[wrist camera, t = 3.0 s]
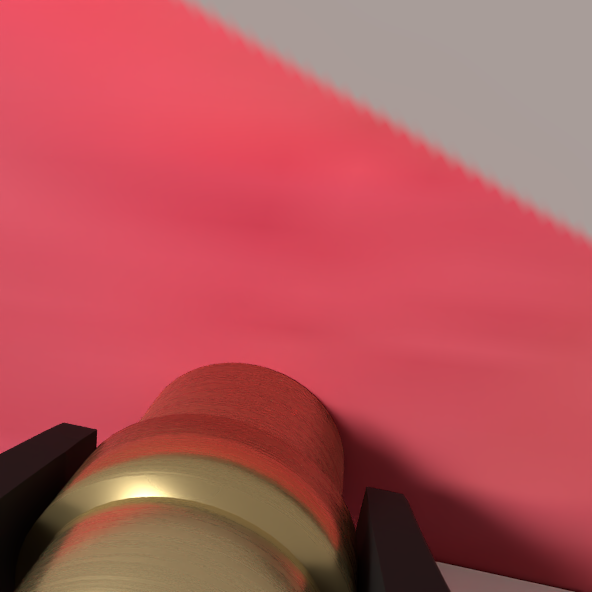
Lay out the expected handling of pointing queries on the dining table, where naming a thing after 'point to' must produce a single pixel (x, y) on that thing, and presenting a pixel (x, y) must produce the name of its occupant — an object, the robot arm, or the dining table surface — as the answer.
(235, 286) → the dining table surface
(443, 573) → the fitting
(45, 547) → the cylinder
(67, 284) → the dining table surface
